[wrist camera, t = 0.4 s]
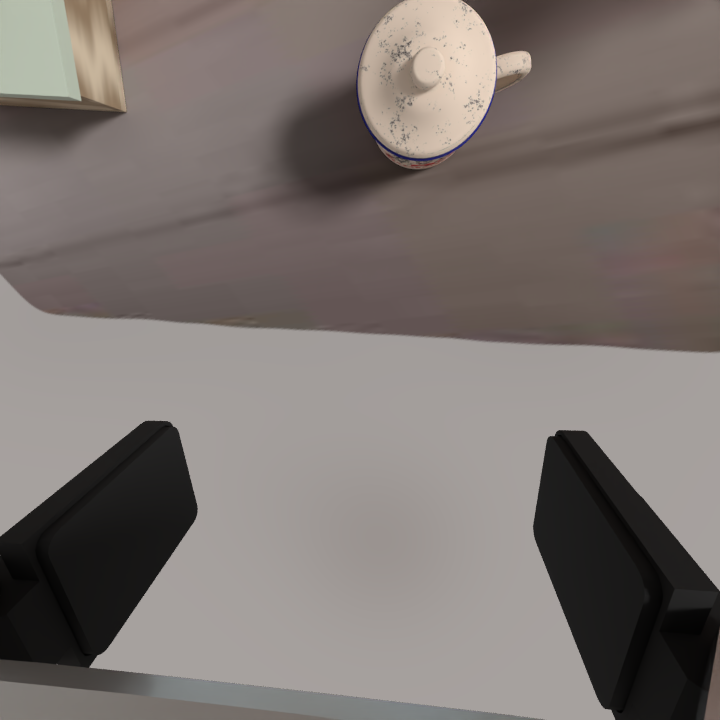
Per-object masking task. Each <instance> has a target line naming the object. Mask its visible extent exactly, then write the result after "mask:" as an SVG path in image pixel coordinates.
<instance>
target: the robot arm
mask: <svg viewBox="0 0 720 720" xmlns="http://www.w3.org/2000/svg"><path fill="white" fill-rule="evenodd" d="M197 509H198V508H197V503H196V499H195V495H194V491H193V487H192V483H191V479H190V475H189V471H188V467H187V464H186V459H185V456H184V452H183V447H182V444H181V440H180V436H179V432H178V430H177V428H175V427H173V426H172V424H171V423H170V422H168V421H145V422H143V423H142V424H140V425H139V426H138V427H137V428H135V429H134V430H133V431H132V432H130V433H129V434H128V435H127V436H125V437H124V438H123V439H122V440H120V441H119V442H118V443H117V444H115V445H114V446H113V447H112V448H110V449H109V450H108V451H107V452H105V453H104V454H103V455H102V456H100V457H99V458H98V459H97V460H95V461H94V462H93V463H92V464H90V465H89V466H88V467H87V468H85V469H84V470H83V471H82V472H80V473H79V474H78V475H77V476H75V477H74V478H73V479H72V480H70V481H69V482H68V483H67V484H65V485H64V486H63V487H62V488H60V489H59V490H58V491H57V492H55V493H54V494H53V495H52V496H50V497H49V498H48V499H47V500H45V501H44V502H43V503H42V504H41V505H40V506H38V507H37V508H36V509H34V510H33V511H32V512H31V513H29V514H28V515H27V516H25V517H24V518H23V519H22V520H20V521H19V522H18V523H17V524H15V525H14V526H13V527H12V528H10V529H9V530H8V531H7V532H5V533H4V534H3V535H2V536H0V720H543V719H535V718H528V717H520V716H513V715H505V714H497V713H488V712H480V711H471V710H463V709H454V708H446V707H437V706H428V705H420V704H411V703H403V702H394V701H385V700H377V699H369V698H360V697H352V696H343V695H334V694H325V693H316V692H307V691H298V690H289V689H280V688H271V687H262V686H254V685H244V684H235V683H226V682H217V681H208V680H199V679H190V678H181V677H172V676H161V675H152V674H143V673H133V672H124V671H114V670H105V669H95V668H89V667H90V665H91V664H92V662H93V661H94V659H95V658H96V657H97V655H99V654H102V653H103V652H104V651H105V650H106V649H107V648H108V647H109V645H110V644H111V643H112V641H113V640H114V638H115V637H116V635H117V634H118V632H119V631H120V629H121V628H122V626H123V625H124V623H125V622H126V620H127V619H128V618H129V616H130V614H131V613H132V612H133V610H134V609H135V607H136V606H137V604H138V603H139V601H140V600H141V598H142V597H143V596H144V594H145V593H146V591H147V590H148V588H149V587H150V585H151V584H152V583H153V581H154V580H155V578H156V576H157V575H158V574H159V572H160V571H161V569H162V568H163V566H164V565H165V564H166V562H167V561H168V559H169V558H170V556H171V555H172V553H173V552H174V550H175V549H176V547H177V546H178V544H179V543H180V541H181V540H182V538H183V537H184V536H185V534H186V533H187V531H188V530H189V528H190V527H191V525H192V524H193V523H194V520H195V519H196V516H197ZM533 530H534V537H535V540H536V543H537V546H538V548H539V551H540V553H541V556H542V558H543V561H544V563H545V566H546V569H547V571H548V574H549V576H550V579H551V581H552V584H553V586H554V589H555V591H556V594H557V597H558V599H559V601H560V604H561V606H562V609H563V612H564V614H565V617H566V619H567V622H568V624H569V627H570V629H571V632H572V635H573V637H574V640H575V642H576V645H577V647H578V650H579V652H580V655H581V657H582V660H583V663H584V665H585V668H586V670H587V673H588V675H589V678H590V680H591V683H592V685H593V688H594V690H595V693H596V695H597V698H598V700H599V702H600V703H601V705H602V706H603V707H604V708H605V709H611V710H612V713H613V715H614V717H615V720H720V591H719V590H718V589H717V587H716V586H715V585H714V584H713V583H712V581H710V579H709V578H708V576H707V575H706V574H705V573H704V572H703V570H702V569H701V568H700V567H699V566H698V564H697V563H696V562H695V561H694V560H693V558H692V557H691V556H690V555H689V554H688V552H687V551H686V550H685V549H684V548H683V546H682V545H681V544H680V543H679V541H678V540H677V539H676V538H675V537H674V535H673V534H672V533H671V532H670V531H669V529H668V528H667V527H666V526H665V524H664V523H663V522H662V521H661V520H660V519H659V517H658V516H657V515H656V514H655V512H654V511H653V510H652V509H651V508H650V506H649V505H648V504H647V503H646V502H645V500H644V499H643V498H642V497H641V496H640V495H639V494H638V493H637V492H636V491H635V490H634V488H633V487H632V486H631V485H630V483H629V482H628V481H627V480H626V479H625V477H624V476H623V475H622V474H621V473H620V471H619V470H618V469H617V468H616V466H615V465H614V464H613V463H612V462H611V460H610V459H609V458H608V457H607V456H606V454H605V453H604V452H603V451H602V449H601V448H600V447H599V446H598V445H597V443H596V442H595V441H594V440H593V439H592V437H591V436H590V435H589V434H588V433H587V432H586V431H568V430H567V431H566V430H559V431H557V432H556V434H555V436H550V437H548V439H547V444H546V450H545V456H544V462H543V468H542V474H541V481H540V487H539V493H538V500H537V505H536V512H535V518H534V525H533ZM57 664H58V665H57Z"/></svg>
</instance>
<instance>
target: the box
mask: <svg viewBox="0 0 720 720" xmlns="http://www.w3.org/2000/svg"><path fill="white" fill-rule="evenodd" d="M64 4H65V10H66V16H67V21H68V27H69V33H70V38H71V44H72V50H73V55H74V61H75V67H76V73H77V78H78V84H79V90H80V95H81V101H68V100H50V99H31V98H13V97H0V105H6V106H24V107H41V108H59V109H77V110H95V111H113V112H127V110H126V103H125V96H124V88H123V81H122V74H121V67H120V59H119V52H118V45H117V38H116V31H115V23H114V16H113V9H112V2H111V0H64Z"/></svg>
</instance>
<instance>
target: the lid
mask: <svg viewBox="0 0 720 720" xmlns="http://www.w3.org/2000/svg"><path fill="white" fill-rule="evenodd" d="M0 97H13V98H31V99H50V100H68V101H81V95H80V90H79V84H78V78H77V73H76V67H75V61H74V55H73V50H72V44H71V38H70V33H69V27H68V21H67V16H66V10H65V4H64V0H0Z"/></svg>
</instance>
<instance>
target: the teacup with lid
mask: <svg viewBox="0 0 720 720" xmlns="http://www.w3.org/2000/svg"><path fill="white" fill-rule="evenodd" d="M530 70H531V56H530V54H529V53H528V52H526V51H515V52H510V53H506V54H503V55H500V56H497V57H496V52H495V47H494V44H493V40H492V37H491V35H490V33H489V31H488V29H487V27H486V25H485V23H484V22H483V20H482V19H481V17H480V16H479V15H478V14H477V13H476V12H475V11H474V9H472V8H471V7H470V6H469V5H468V4H466V3H465V2H463V1H461V0H405V1H403V2H401V3H399V4H398V5H396V6H395V7H394V8H392V9H391V10H390V11H389V12H388V13H387V14H386V15H385V16H384V17H383V18H382V19H381V20H380V21H379V22H378V24H377V25H376V26H375V28H374V29H373V31H372V32H371V34H370V36H369V37H368V39H367V41H366V43H365V46H364V48H363V51H362V54H361V57H360V61H359V65H358V71H357V80H356V90H357V100H358V105H359V109H360V113H361V116H362V119H363V121H364V123H365V125H366V127H367V129H368V131H369V132H370V134H371V135H372V137H373V138H374V139H375V140H376V142H377V144H378V146H379V148H380V149H381V151H382V152H383V153H384V154H385V155H386V156H387V157H388V158H389V159H390V160H391V161H392V162H394V163H396V164H398V165H400V166H402V167H405V168H409V169H426V168H430V167H433V166H436V165H438V164H440V163H441V162H443V161H445V160H446V159H447V158H449V157H450V156H451V155H452V154H453V153H454V152H455V151H456V150H457V149H458V148H460V147H461V146H462V145H463V144H465V143H466V142H467V141H468V140H469V139H470V138H471V137H472V136H473V134H474V133H475V132H476V131H477V130H478V128H479V127H480V125H481V124H482V122H483V120H484V119H485V117H486V115H487V113H488V111H489V108H490V106H491V103H492V100H493V96H494V93H497V92H499V91H502V90H504V89H506V88H508V87H510V86H512V85H514V84H516V83H517V82H519V81H520V80H522V79H523V78H524V77H525V76H526V75H527V74H528V73H529V72H530Z"/></svg>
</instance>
